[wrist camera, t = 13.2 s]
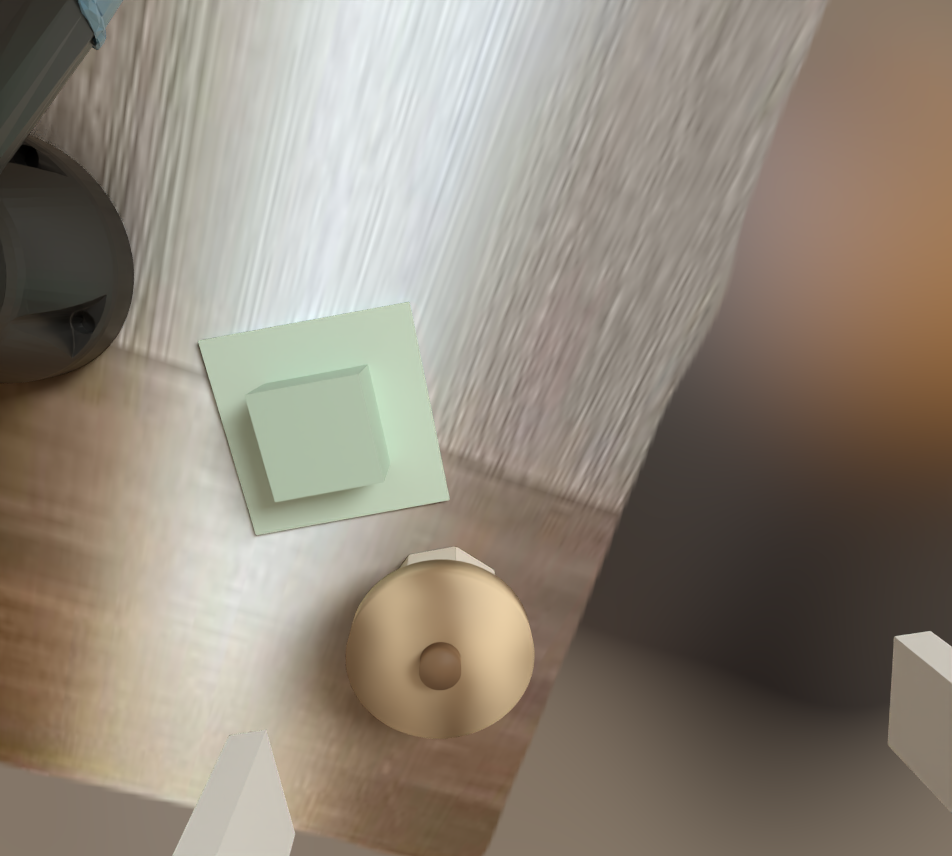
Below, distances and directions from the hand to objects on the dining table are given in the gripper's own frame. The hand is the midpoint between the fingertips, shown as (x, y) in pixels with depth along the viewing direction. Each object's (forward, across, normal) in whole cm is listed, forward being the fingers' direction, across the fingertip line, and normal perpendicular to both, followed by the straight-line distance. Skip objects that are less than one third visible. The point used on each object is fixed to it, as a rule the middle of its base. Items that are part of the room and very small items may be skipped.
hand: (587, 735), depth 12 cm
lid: (+24, -5, -14) cm, 28 cm away
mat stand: (+29, -11, +1) cm, 31 cm away
